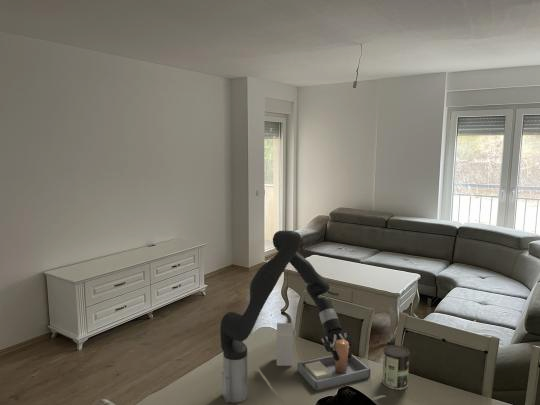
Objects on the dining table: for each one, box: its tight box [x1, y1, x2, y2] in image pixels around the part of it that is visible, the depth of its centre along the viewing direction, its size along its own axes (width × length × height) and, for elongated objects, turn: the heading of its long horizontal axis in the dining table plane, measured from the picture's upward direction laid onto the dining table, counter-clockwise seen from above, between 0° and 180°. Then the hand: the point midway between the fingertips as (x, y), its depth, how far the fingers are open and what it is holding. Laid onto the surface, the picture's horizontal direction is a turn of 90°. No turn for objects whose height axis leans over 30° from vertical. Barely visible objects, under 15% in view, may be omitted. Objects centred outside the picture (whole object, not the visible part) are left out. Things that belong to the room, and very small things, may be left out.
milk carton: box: [276, 322, 294, 367], centre depth 184 cm, size 7×7×19 cm
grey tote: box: [297, 354, 371, 392], centre depth 175 cm, size 26×16×4 cm, turn 113°
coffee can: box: [382, 344, 411, 390], centre depth 170 cm, size 10×10×14 cm
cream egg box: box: [305, 361, 332, 381], centre depth 172 cm, size 7×10×4 cm
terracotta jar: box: [335, 339, 349, 372], centre depth 176 cm, size 6×6×12 cm
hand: (343, 358), depth 174 cm, fingers closed on terracotta jar, 5 cm apart
